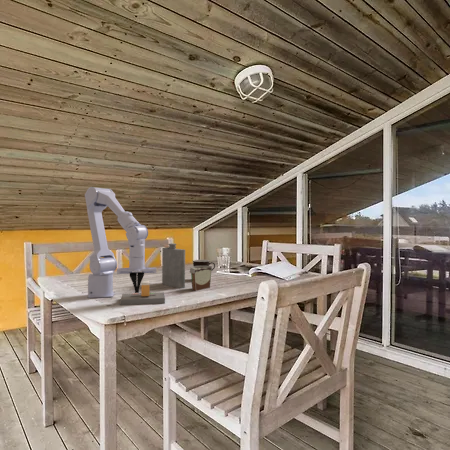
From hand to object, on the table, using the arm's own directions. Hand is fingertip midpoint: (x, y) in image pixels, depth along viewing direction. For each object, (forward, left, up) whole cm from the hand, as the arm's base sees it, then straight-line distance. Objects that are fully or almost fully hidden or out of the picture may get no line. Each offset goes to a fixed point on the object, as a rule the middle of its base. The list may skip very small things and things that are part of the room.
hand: (136, 292), depth 134 cm
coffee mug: (+32, +42, -4) cm, 53 cm away
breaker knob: (+3, 0, -1) cm, 3 cm away
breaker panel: (+2, 0, -3) cm, 4 cm away
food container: (+26, +20, -4) cm, 33 cm away
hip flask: (+15, +29, -4) cm, 33 cm away
